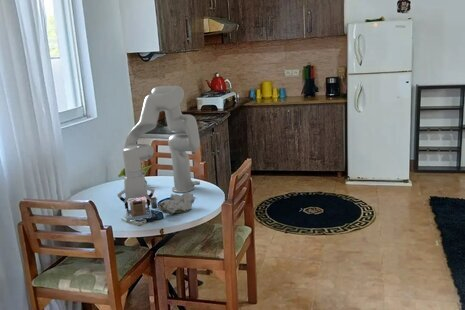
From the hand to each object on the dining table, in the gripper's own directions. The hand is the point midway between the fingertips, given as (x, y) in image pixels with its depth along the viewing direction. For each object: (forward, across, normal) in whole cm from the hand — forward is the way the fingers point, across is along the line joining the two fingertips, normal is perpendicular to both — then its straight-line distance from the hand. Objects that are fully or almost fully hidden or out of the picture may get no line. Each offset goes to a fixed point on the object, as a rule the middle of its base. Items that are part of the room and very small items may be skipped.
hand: (138, 208), depth 218 cm
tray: (+4, 0, 0) cm, 4 cm away
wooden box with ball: (+3, 0, 0) cm, 3 cm away
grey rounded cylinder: (+4, -8, -10) cm, 13 cm away
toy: (+4, -1, -53) cm, 53 cm away
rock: (+4, -19, +2) cm, 19 cm away
